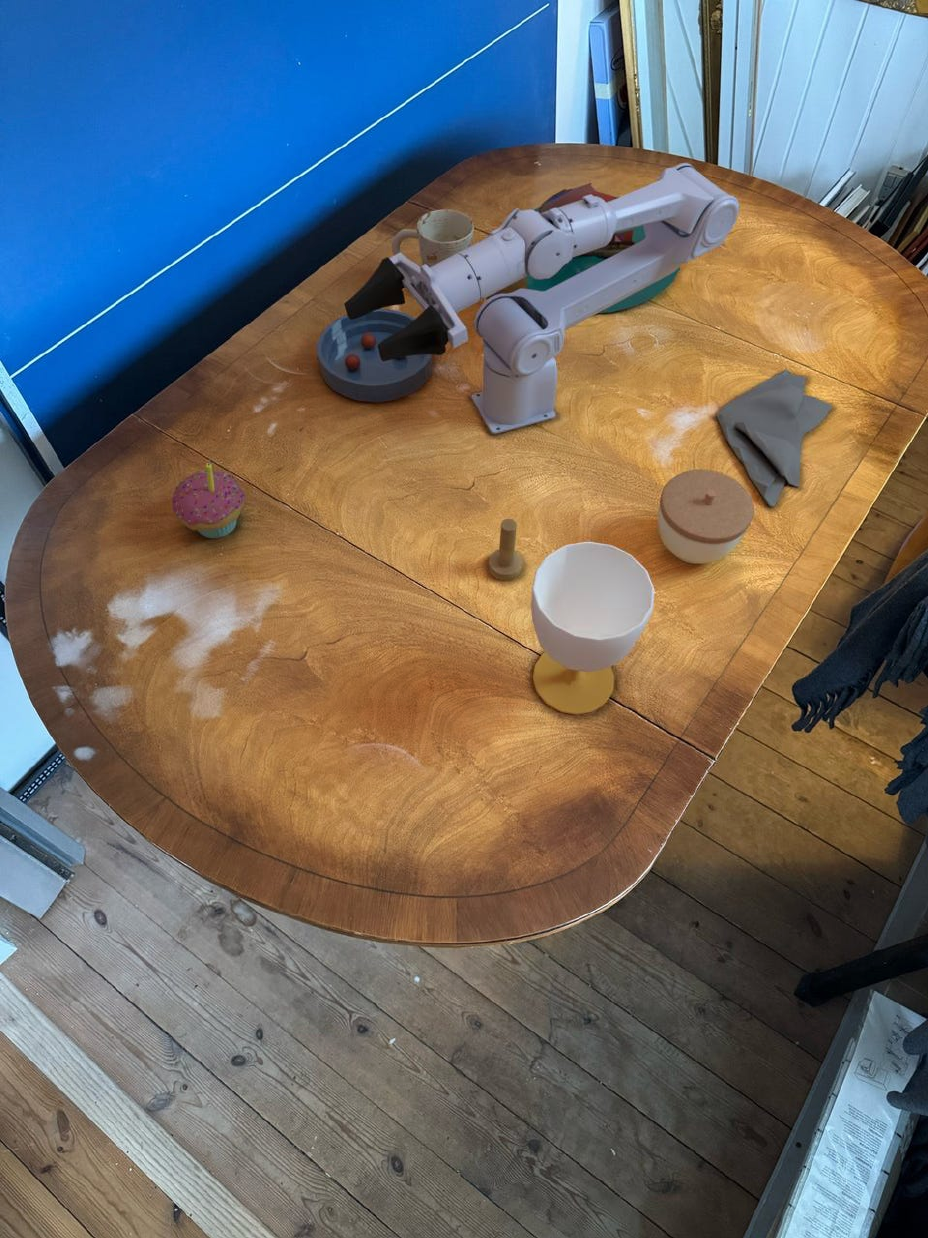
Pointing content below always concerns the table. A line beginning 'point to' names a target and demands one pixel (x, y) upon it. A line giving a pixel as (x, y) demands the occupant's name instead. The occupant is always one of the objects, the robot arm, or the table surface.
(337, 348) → the bowl
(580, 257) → the toy sailboat
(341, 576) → the table surface
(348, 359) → the bead
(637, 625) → the cup
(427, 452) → the table surface
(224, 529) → the cupcake
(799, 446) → the cloth
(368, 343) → the bead
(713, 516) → the trinket box
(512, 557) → the pestle
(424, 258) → the mug
